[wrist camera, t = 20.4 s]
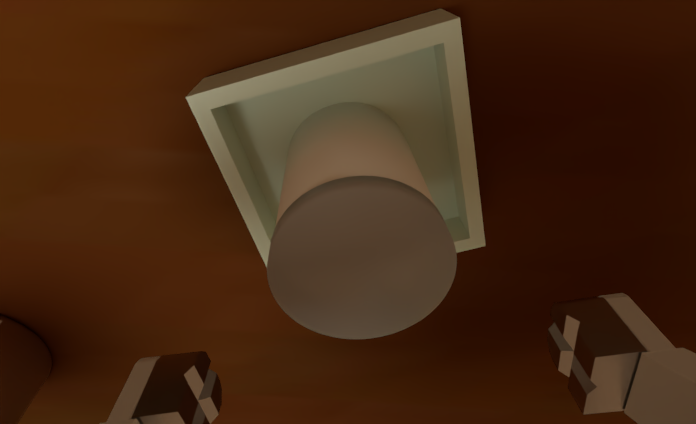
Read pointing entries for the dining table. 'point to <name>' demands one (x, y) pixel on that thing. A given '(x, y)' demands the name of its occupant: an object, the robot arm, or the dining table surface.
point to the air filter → (20, 369)
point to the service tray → (340, 87)
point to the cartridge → (357, 229)
